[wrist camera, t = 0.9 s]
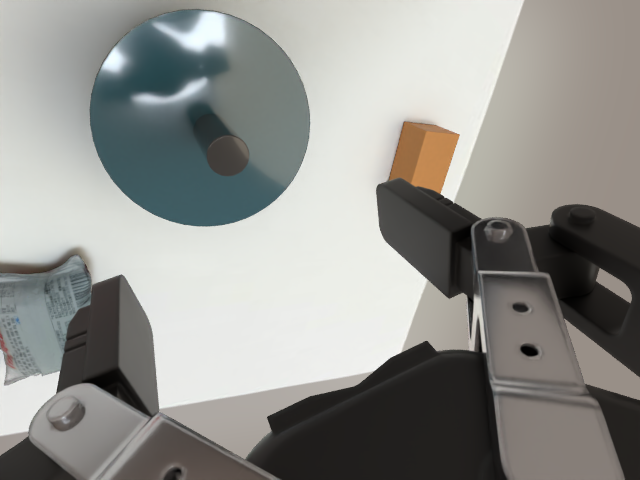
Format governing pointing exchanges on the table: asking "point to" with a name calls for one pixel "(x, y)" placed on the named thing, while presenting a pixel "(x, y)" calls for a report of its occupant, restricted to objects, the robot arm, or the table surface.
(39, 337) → the packaged food
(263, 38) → the lid
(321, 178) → the table surface
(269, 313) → the table surface
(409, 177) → the orange rectangular block
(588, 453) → the robot arm
